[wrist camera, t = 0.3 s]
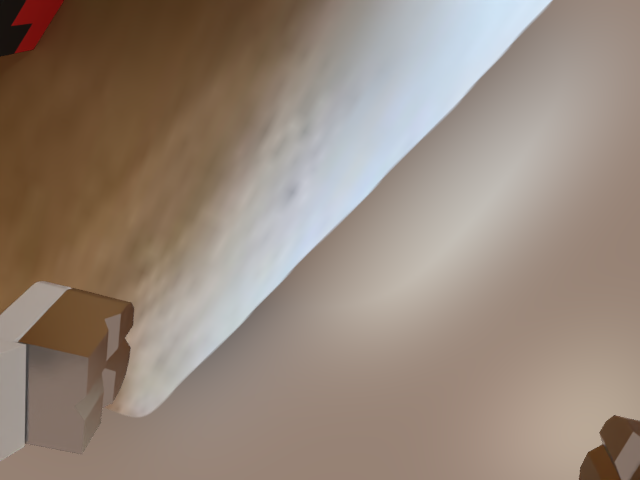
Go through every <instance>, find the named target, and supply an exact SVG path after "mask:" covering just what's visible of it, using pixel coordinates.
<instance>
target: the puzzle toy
mask: <svg viewBox="0 0 640 480" xmlns="http://www.w3.org/2000/svg"><path fill="white" fill-rule="evenodd" d="M63 1H64V0H0V56H5V55H9V54H14V53H19V52H24V51H29V50H33V49H34V48H35V46H36V45H37V43H38V41H39V40H40V38H41V37H42V35H43V33H44V32H45V30H46V29H47V27H48V25H49V24H50V22H51V21H52V19H53V17H54V16H55V14H56V13H57V11H58V9H59V8H60V6H61V4H62V3H63Z"/></svg>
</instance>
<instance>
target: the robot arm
mask: <svg viewBox="0 0 640 480" xmlns="http://www.w3.org/2000/svg"><path fill="white" fill-rule="evenodd" d="M133 318H134V307H133V304H132V303H131V302H127V301H123V300H119V299H115V298H111V297H107V296H103V295H99V294H95V293H91V292H87V291H83V290H79V289H75V288H70V287H67V286H63V285H59V284H54V283H50V282H46V281H40V282H36V283H34V284H33V285H32V286H31V287H30V288H29V289H28V290H26V291H25V292H24V293H23V294H22V295H21V296H20V297H19V298H18V299H17V300H16V301H14V302H13V303H12V304H11V305H10V306H9V307H8V308H7V309H6V310H5V311H4V312H3V313H1V314H0V461H2V460H3V459H5V458H7V457H8V456H10V455H12V454H13V453H15V452H17V451H18V450H20V449H21V448H23V447H24V446H25V444H31V445H36V446H41V447H46V448H52V449H57V450H62V451H67V452H72V453H77V454H82V453H83V452H84V450H85V448H86V447H87V445H88V443H89V442H90V440H91V438H92V437H93V435H94V433H95V432H96V430H97V428H98V427H99V425H100V423H101V416H102V408H104V407H106V406H108V405H110V404H112V403H113V401H114V400H115V398H116V396H117V394H118V392H119V391H120V388H121V385H122V383H123V380H124V378H125V375H126V371H127V367H128V363H129V357H130V349H131V347H130V346H129V344H128V342H127V341H126V339H125V337H126V335H127V334H128V332H129V331H130V329H131V328H132V326H133ZM600 437H601V440H602V445H600V446H599V447H597V448H595V449H593V450H591V451H589V452H588V453H587V455H586V457H585V459H584V461H583V463H582V465H581V467H580V475H579V480H640V421H639V420H634V419H629V418H625V417H620V416H616V415H614V416H613V417H611V418H610V419H609V420H607V421H606V422H605V424H604V426H603V427H602V429H601V431H600Z"/></svg>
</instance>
